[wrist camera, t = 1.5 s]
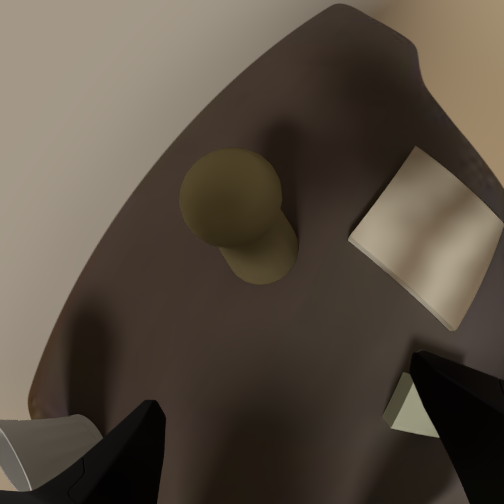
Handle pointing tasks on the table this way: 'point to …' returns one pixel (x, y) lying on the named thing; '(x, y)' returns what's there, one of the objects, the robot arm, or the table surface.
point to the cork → (240, 213)
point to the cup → (43, 448)
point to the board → (431, 237)
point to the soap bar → (408, 410)
